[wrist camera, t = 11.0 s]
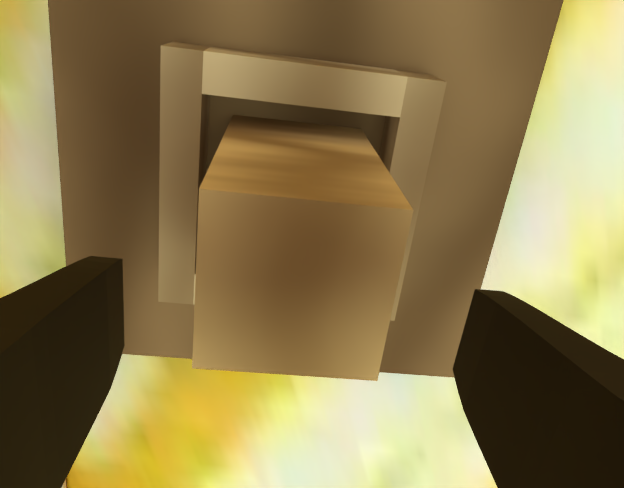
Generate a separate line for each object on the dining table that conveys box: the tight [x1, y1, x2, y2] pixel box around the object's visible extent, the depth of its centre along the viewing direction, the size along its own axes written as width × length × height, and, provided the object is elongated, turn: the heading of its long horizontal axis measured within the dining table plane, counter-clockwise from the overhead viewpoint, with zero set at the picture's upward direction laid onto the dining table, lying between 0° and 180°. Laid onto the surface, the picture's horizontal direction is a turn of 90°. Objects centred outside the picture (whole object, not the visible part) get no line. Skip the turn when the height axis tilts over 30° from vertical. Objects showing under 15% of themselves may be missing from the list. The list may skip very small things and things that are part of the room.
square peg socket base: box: [48, 0, 563, 377], centre depth 18 cm, size 16×16×3 cm
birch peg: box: [192, 115, 413, 381], centre depth 15 cm, size 4×4×8 cm
